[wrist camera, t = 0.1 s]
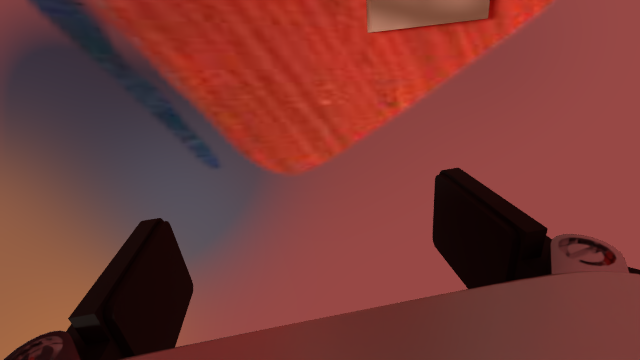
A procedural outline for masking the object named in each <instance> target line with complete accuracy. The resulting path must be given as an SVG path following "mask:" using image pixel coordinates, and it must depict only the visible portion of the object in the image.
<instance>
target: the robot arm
mask: <svg viewBox="0 0 640 360" xmlns="http://www.w3.org/2000/svg"><path fill="white" fill-rule="evenodd" d="M434 195H435V196H434V216H433V217H434V218H433V242H434V245H435V247H436V248H437V250H438V251H439V252H440V254H441V255H442V256H443V257H444V259H445V260H446V261H447V262H448V264H449V265H450V266H451V267H452V269H453V270H454V271H455V273H456V274H457V275H458V277H459V278H460V279H461V280H462V281H463V283H464V284H465V285H466V287H467V288H468V289H466V290H462V291H456V292H451V293H446V294H441V295H435V296H430V297H425V298H420V299H415V300H410V301H405V302H400V303H395V304H390V305H385V306H380V307H375V308H370V309H365V310H360V311H355V312H350V313H345V314H340V315H335V316H330V317H325V318H320V319H314V320H309V321H304V322H299V323H294V324H289V325H284V326H279V327H274V328H269V329H265V330H259V331H255V332H249V333H244V334H239V335H234V336H229V337H224V338H219V339H214V340H210V341H205V342H200V343H195V344H190V345H185V346H180V347H175V345H176V342H177V339H178V336H179V333H180V330H181V327H182V324H183V321H184V317H185V315H186V311H187V309H188V305H189V302H190V299H191V296H192V293H193V283H192V280H191V277H190V275H189V272H188V269H187V267H186V264H185V262H184V259H183V257H182V254H181V251H180V249H179V246H178V244H177V241H176V238H175V236H174V233H173V231H172V228H171V226H170V224H169V222H167V221H165V222H164V221H163V220H162V219H161V218H157V219H151V220H145V221H141V222H140V223H139V225H138V226H137V227H136V229H135V230H134V231H133V233H132V234H131V235H130V237H129V238H128V239H127V241H126V242H125V243H124V245H123V246H122V247H121V249H120V250H119V251H118V253H117V254H116V255H115V257H114V258H113V259H112V261H111V262H110V263H109V265H108V266H107V267H106V269H105V270H104V272H103V273H102V274H101V275H100V277H99V278H98V279H97V281H96V282H95V284H94V285H93V286H92V288H91V289H90V290H89V291H88V293H87V294H86V296H85V297H84V298H83V300H82V301H81V302H80V304H79V305H78V306H77V308H76V309H75V310H74V312H73V313H72V314H71V316H70V317H69V318H68V319H69V320H70V322H71V323H72V324H71V326H70V327H69V328H68V330H67V331H66V332H65V331H53V332H49V333H46V334H43V335H40V336H38V337H36V338H34V339H32V340H30V341H28V342H26V343H25V344H23V345H22V346H20V347H18V348H17V349H16V350H14V351H13V352H12V353H11V354H10V355H8V356H7V357H6V358H5V359H4V360H640V270H638V269H634V268H630V267H627V264H626V262H625V258H624V257H623V255H622V254H621V252H619V251H618V250H617V249H616V248H614V247H613V246H611V245H609V244H608V243H606V242H603V241H601V240H598V239H595V238H593V237H588V236H584V235H577V234H563V235H559V236H556V237H555V238H553V239H550V238H549V237H547V236H546V233H547V228H546V227H544V226H543V225H542V224H540V223H539V222H537V221H536V220H534V219H533V218H531V217H530V216H528V215H527V214H525V213H524V212H522V211H521V210H520V209H518V208H517V207H515V206H514V205H512V204H511V203H509V202H508V201H506V200H505V199H503V198H502V197H501V196H499V195H498V194H496V193H495V192H493V191H492V190H490V189H489V188H487V187H486V186H484V185H483V184H482V183H480V182H479V181H477V180H476V179H474V178H473V177H471V176H470V175H468V174H467V173H466V172H464V171H463V170H461V169H460V168H454V169H447V170H442V171H441V172H440V174H439V175H437V176H436V178H435V194H434Z"/></svg>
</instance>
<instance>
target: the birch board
mask: <svg viewBox="0 0 640 360" xmlns="http://www.w3.org/2000/svg"><path fill="white" fill-rule="evenodd" d="M489 4H490V0H367V23H368V33H369V32H378V31H387V30H395V29H403V28H412V27H420V26H428V25H437V24H445V23H453V22H462V21H470V20H478V19H487V18H488V13H489Z"/></svg>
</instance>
